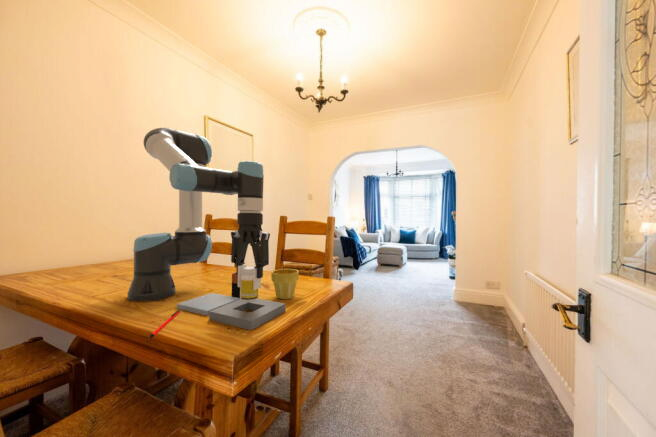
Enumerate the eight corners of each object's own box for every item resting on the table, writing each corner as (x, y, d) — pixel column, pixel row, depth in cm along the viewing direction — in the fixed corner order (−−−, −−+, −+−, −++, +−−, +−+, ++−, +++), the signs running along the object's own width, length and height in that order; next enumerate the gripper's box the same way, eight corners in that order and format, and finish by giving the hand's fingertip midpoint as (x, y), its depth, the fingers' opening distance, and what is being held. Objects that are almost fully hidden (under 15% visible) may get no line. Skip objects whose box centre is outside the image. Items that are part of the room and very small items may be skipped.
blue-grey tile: (177, 308, 86) (177, 303, 86) (211, 296, 99) (211, 292, 99) (207, 315, 81) (207, 310, 81) (240, 302, 93) (240, 298, 93)
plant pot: (266, 295, 102) (266, 270, 102) (289, 291, 108) (290, 267, 108) (279, 302, 94) (279, 275, 94) (303, 297, 100) (303, 271, 100)
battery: (251, 294, 103) (252, 268, 103) (240, 299, 97) (240, 272, 97) (242, 293, 105) (243, 267, 105) (230, 297, 98) (231, 271, 98)
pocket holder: (209, 319, 78) (209, 311, 77) (247, 303, 92) (247, 296, 92) (251, 330, 71) (251, 321, 71) (285, 311, 85) (285, 303, 85)
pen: (181, 312, 84) (181, 308, 84) (150, 340, 65) (150, 335, 65) (178, 312, 84) (178, 308, 84) (146, 340, 65) (146, 336, 65)
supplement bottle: (260, 300, 81) (260, 268, 80) (242, 303, 78) (242, 270, 78) (255, 295, 85) (255, 265, 85) (238, 298, 82) (238, 267, 82)
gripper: (218, 211, 82) (217, 286, 82) (266, 212, 74) (265, 294, 74) (236, 212, 88) (235, 281, 89) (282, 212, 81) (281, 288, 81)
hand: (249, 287), depth 81 cm, fingers closed on supplement bottle, 5 cm apart
